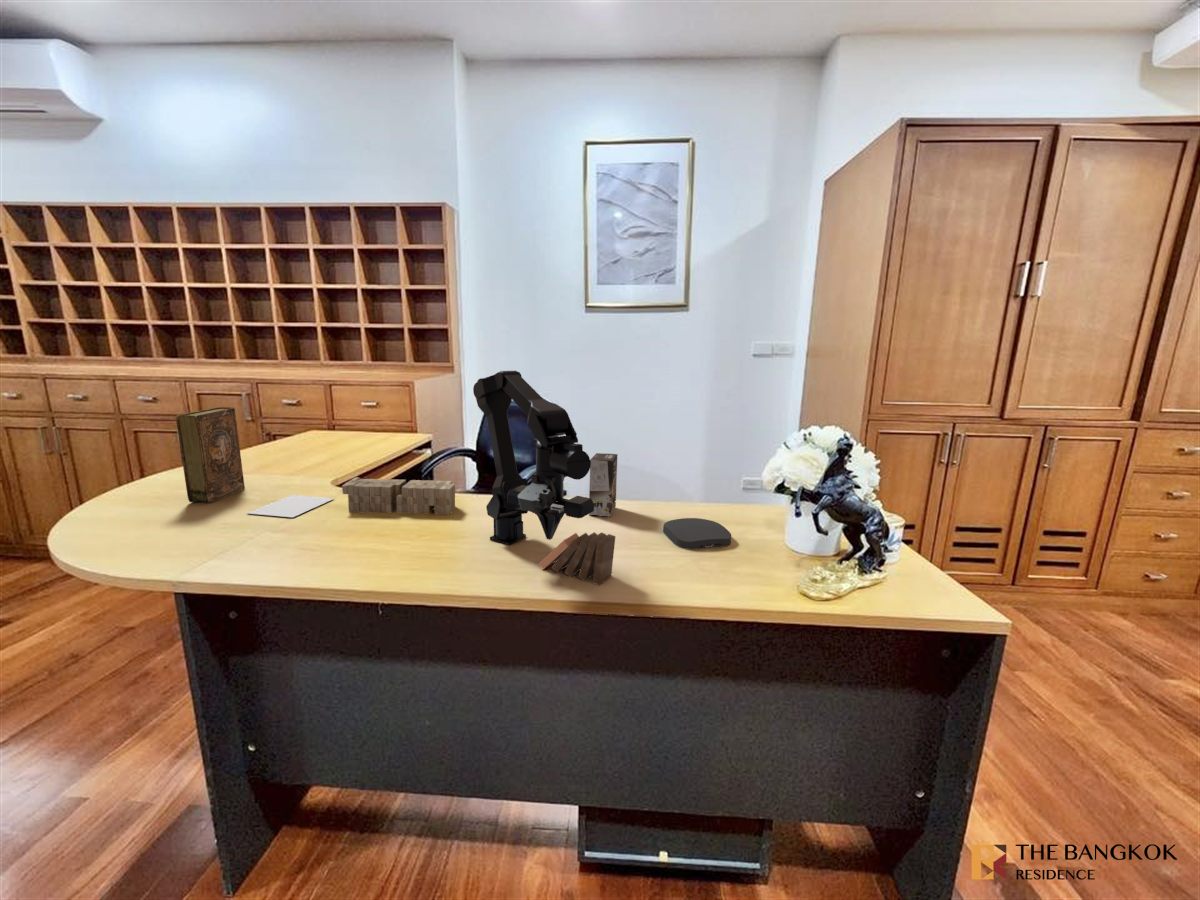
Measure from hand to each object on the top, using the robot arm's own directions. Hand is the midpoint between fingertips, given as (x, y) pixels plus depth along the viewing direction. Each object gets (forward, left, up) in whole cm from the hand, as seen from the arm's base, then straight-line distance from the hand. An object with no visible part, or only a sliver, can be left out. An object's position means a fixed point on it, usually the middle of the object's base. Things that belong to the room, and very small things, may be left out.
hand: (549, 538), depth 112 cm
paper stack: (-76, -9, -7) cm, 77 cm away
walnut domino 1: (+3, 0, -6) cm, 6 cm away
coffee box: (-7, +37, -6) cm, 38 cm away
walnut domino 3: (+10, 0, -6) cm, 11 cm away
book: (-109, -12, -6) cm, 110 cm away
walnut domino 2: (+6, 0, -6) cm, 8 cm away
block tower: (-55, +9, -6) cm, 56 cm away
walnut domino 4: (+13, 0, -6) cm, 14 cm away
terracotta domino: (-1, 0, -6) cm, 6 cm away
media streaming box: (+22, +33, -7) cm, 40 cm away
